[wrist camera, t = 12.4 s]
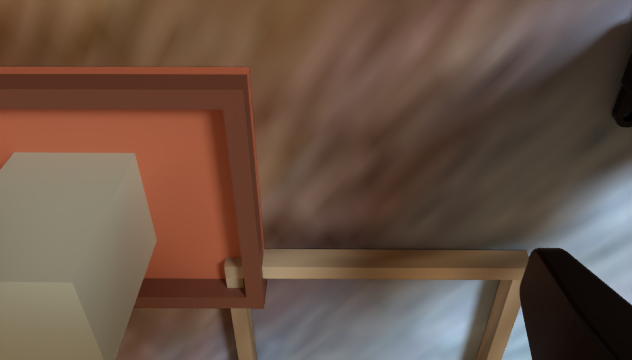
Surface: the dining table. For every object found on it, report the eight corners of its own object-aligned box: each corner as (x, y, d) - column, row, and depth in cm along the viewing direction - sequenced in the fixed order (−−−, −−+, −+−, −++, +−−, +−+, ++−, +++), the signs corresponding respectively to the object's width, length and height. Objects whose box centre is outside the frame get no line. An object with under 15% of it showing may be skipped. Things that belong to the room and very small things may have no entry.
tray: (248, 67, 20) (243, 89, 19) (267, 280, 28) (264, 308, 26) (-144, 66, 20) (-178, 88, 19) (-22, 278, 28) (-41, 306, 26)
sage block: (134, 152, 22) (72, 282, 17) (156, 240, 25) (110, 374, 20) (14, 152, 22) (-89, 281, 17) (50, 239, 25) (-26, 373, 20)
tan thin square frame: (526, 250, 26) (533, 268, 25) (473, 408, 35) (477, 426, 34) (227, 248, 26) (224, 266, 25) (250, 406, 35) (248, 424, 34)
